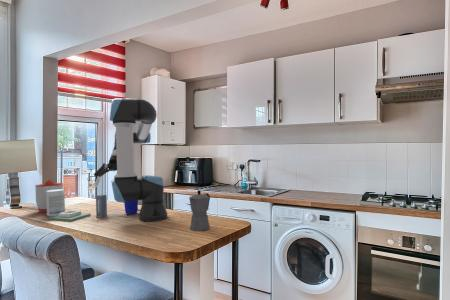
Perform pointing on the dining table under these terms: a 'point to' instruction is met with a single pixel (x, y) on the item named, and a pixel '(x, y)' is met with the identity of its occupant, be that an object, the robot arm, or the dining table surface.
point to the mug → (131, 207)
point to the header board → (69, 216)
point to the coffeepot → (199, 212)
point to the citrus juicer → (41, 193)
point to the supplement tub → (55, 202)
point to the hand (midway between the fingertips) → (106, 186)
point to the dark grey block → (101, 205)
